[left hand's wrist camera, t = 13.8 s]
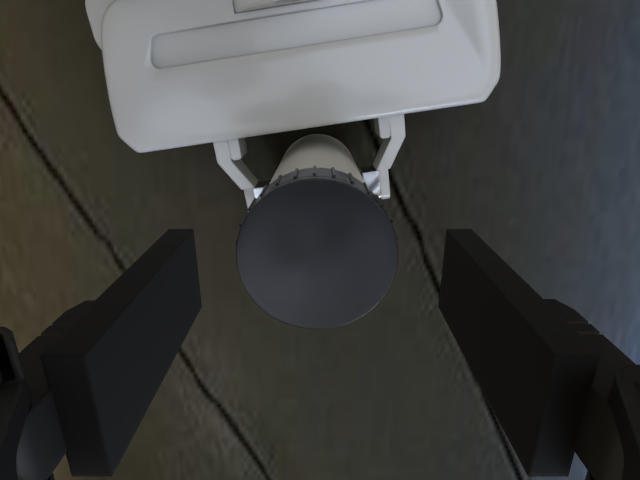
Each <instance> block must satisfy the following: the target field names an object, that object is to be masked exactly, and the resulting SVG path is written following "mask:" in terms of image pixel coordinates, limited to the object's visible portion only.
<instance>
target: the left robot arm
mask: <svg viewBox="0 0 640 480" xmlns="http://www.w3.org/2000/svg"><path fill="white" fill-rule="evenodd" d="M201 307H202V305H201V296H200V287H199V277H198V268H197V259H196V250H195V240H194V231H193V229H169V230H168V231H167V232H166V233H165V234H163V235H162V236H161V237H160V238H159V239H158V240H157V241H156V242H155V243H154V244H153V245H152V246H151V247H150V248H149V249H148V250H147V251H146V252H145V253H144V254H143V255H142V256H141V257H140V258H139V259H138V260H137V261H136V262H135V263H134V264H133V265H131V266H130V267H129V268H128V269H127V270H126V271H125V272H124V273H123V274H122V275H121V276H120V277H119V278H118V279H117V280H116V281H115V282H114V283H113V284H112V285H111V286H110V287H109V288H108V289H107V290H106V291H105V292H104V293H103V294H102V295H101V296H100V297H98V298H97V299H96V300H95V301H84V302H83V303H81V304H79V305H77V306H75V307H73V308H71V309H69V310H67V311H66V312H65V313H63V314H62V315H61V316H60V317H59V318H58V319H57V320H56V321H55V322H53V323H52V324H53V325H52V326H49V327H48V328H47V329H46V330H45V331H43V332H42V333H41V336H38V337H37V338H36V339H34V340H33V341H32V342H31V343H30V344H29V345H28V346H27V347H26V348H24V349H23V350H22V351H21V352H20V353H18V349H17V346H16V342H15V339H14V335H13V332H12V331H11V330H9V329H7V328H6V327H0V480H55V479H54V475H53V471H54V469H55V468H56V466H57V465H58V463H59V462H60V461H61V459H62V458H63V456H64V455H65V453H66V456H67V460H68V463H69V467H70V471H71V475H72V476H112V475H113V473H114V471H115V469H116V468H117V466H118V464H119V462H120V460H121V458H122V456H123V454H124V452H125V450H126V449H127V447H128V445H129V443H130V441H131V439H132V437H133V435H134V433H135V432H136V430H137V428H138V426H139V424H140V422H141V420H142V418H143V416H144V415H145V413H146V411H147V409H148V407H149V405H150V403H151V401H152V399H153V398H154V396H155V394H156V392H157V390H158V388H159V386H160V384H161V382H162V381H163V379H164V377H165V375H166V373H167V371H168V369H169V367H170V365H171V364H172V362H173V360H174V358H175V356H176V354H177V352H178V350H179V348H180V347H181V345H182V343H183V341H184V339H185V337H186V335H187V333H188V331H189V330H190V328H191V326H192V324H193V322H194V320H195V318H196V316H197V314H198V313H199V311H200V309H201ZM438 307H439V309H440V311H441V313H442V314H443V316H444V318H445V320H446V322H447V324H448V326H449V328H450V330H451V331H452V333H453V335H454V337H455V339H456V341H457V343H458V345H459V347H460V348H461V350H462V352H463V354H464V356H465V358H466V360H467V362H468V364H469V365H470V367H471V369H472V371H473V373H474V375H475V377H476V379H477V381H478V382H479V384H480V386H481V388H482V390H483V392H484V394H485V396H486V398H487V399H488V401H489V403H490V405H491V407H492V409H493V411H494V413H495V415H496V416H497V418H498V420H499V422H500V424H501V426H502V428H503V430H504V432H505V433H506V435H507V437H508V439H509V441H510V443H511V445H512V447H513V449H514V450H515V452H516V454H517V456H518V458H519V460H520V462H521V464H522V466H523V468H524V469H525V471H526V473H527V475H528V476H568V475H569V471H570V467H571V463H572V460H573V456H574V452H576V454H577V455H578V457H579V458H580V460H581V461H582V463H583V464H584V465H585V467H586V468H587V470H588V472H587V475H586V479H585V480H640V365H636V364H635V363H634V362H633V361H631V360H630V359H629V358H628V357H627V356H626V355H625V354H624V353H622V352H621V351H620V350H619V349H618V348H617V347H616V346H615V345H613V344H612V343H611V342H610V341H609V340H608V339H607V338H606V337H604V336H603V335H600V334H599V331H598V330H597V329H596V328H594V327H593V326H592V325H591V324H588V321H587V320H585V319H584V318H583V317H582V316H581V315H580V314H579V313H578V312H576V311H575V310H574V309H572V308H570V307H568V306H566V305H565V304H563V303H561V302H559V301H557V300H555V299H543V298H542V297H540V296H539V295H538V294H537V293H536V292H535V291H534V290H533V289H532V288H531V287H530V286H529V285H528V284H527V283H526V282H525V281H524V280H523V279H522V278H521V277H520V276H519V275H518V274H517V273H516V272H515V271H514V270H513V269H512V268H511V267H510V266H509V265H507V264H506V263H505V262H504V261H503V260H502V259H501V258H500V257H499V256H498V255H497V254H496V253H495V252H494V251H493V250H492V249H491V248H490V247H489V246H488V245H487V244H486V243H485V242H484V241H483V240H482V239H481V238H480V237H479V236H478V235H477V234H475V233H474V232H473V231H472V230H471V229H447V231H446V240H445V250H444V259H443V268H442V277H441V287H440V296H439V305H438Z"/></svg>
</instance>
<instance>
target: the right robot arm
mask: <svg viewBox="0 0 640 480" xmlns="http://www.w3.org/2000/svg"><path fill="white" fill-rule="evenodd" d="M85 6H86V11H87V15H88V18H89V22H90V25H91V29H92V32H93V36H94V38H95V41H96V43H97V44H98V46H99V48H100V49H101V51H102V56H103V64H104V71H105V79H106V85H107V90H108V96H109V101H110V106H111V111H112V115H113V119H114V124H115V127H116V131H117V133H118V135H119V137H120V138H121V139H122V140H123V141H124V142H125V143H126V144H127V145H129V146H130V147H131V148H132V149H133V150H135V151H136V152H138V153H144V152H151V151H158V150H164V149H171V148H178V147H185V146H191V145H198V144H205V143H211V142H213V145H214V149H215V154H216V158H217V163H218V164H219V165H220V166H221V167H222V169H223V170H224V171H225V172H226V173H227V174H228V175H229V176H230V178H231V179H232V180H233V181H234V182H235V183H236V184H237V185H238V187H239V188H240V189H241V190H244V194H245V198H246V203H247V208H249V206H250V204H251V203H252V201H253V199H254V198H257V197H258V196H259V195H260V193H261V192H262V190H263V188H264V186H265V185H267V186H268V185H269V184H270V182H271V180H270V181H261V182H259V181H258V180H257V178H256V177H255V176H254V175H253V173H252V172H251V171H250V170H249V169H248V167H247V166H246V165H245V164H244V162H243V161H242V160H241V158H242V157H243V156H244V155H245V154H246V153H247V147H246V142H245V137H252V136H259V135H265V134H272V133H279V132H286V131H292V130H299V129H306V128H312V127H319V126H326V125H333V124H339V123H346V122H353V121H360V120H366V119H373V118H374V125H375V133H376V134H377V135H378V136H380V137H381V138H382V139H383V141H382V144H381V146H380V148H379V151H378V153H377V155H376V158H375V160H374V163H373V165H372V166H366V167H360V174H361V176H362V178H363V180H364V182H366V183H367V185H368V187H369V189H370V190H371V191H372V192H373V193H374V194H375V195H376V194H377V195H378V196H379V198H380V200H381V199H388V198H390V187H389V175H388V169H390V168H391V166H392V164H393V161H394V159H395V157H396V155H397V153H398V151H399V149H400V147H401V144H402V142H403V140H404V138H405V121H404V114H407V113H413V112H420V111H427V110H434V109H440V108H447V107H454V106H461V105H467V104H474V103H480V102H483V101H485V100H486V99H487V98H488V96H489V95H490V94H491V92H492V91H493V89H494V87H495V86H496V84H497V83H498V81H499V78H500V68H501V53H500V33H499V21H498V11H497V2H496V0H85ZM248 212H249V211H248Z"/></svg>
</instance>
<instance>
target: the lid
mask: <svg viewBox="0 0 640 480" xmlns="http://www.w3.org/2000/svg"><path fill="white" fill-rule="evenodd" d="M383 206H384V205H383V203H382V201H381V200H380V198H379V196H378V195H377V194H376V195H375V194H374V193H373V192H372V191H371V190H370V189H369V187H368V185H367V183H366V182H364V183H362V182H361V181H360V180H358V179H356V178H354V177H353V176H352V174H351V173H348V174H346V173H344V172H341V171H338V170H335V168H334V167H332V168H331V169H328V168H316V166H313V168H305V169H300V170H299V169H298V168H296V169H295V171H293V172H290V173H288V174H285V175H283V176H282V175H279V176H278V178H277V179H276V180H275V181H273V182H272V183H271V184H269V185H268V186H267V185H265V186H264V188H263V190H262V192H261V193H260V195H259V196H258V197H257V198H254V199H253V201H252V203H251V204H250V206H249V208H248V211H249V212H248V213H246V215H245V217H244V218H243V220H242V222H241V224H240V227H241V228H240V231H239V234H238V239H237V241H236V263H237V268H238V273H239V276H240V279H241V281H242V283H243V285H244V287H245V289H246V291H247V292H248V294H249V295H250V297H251V298H252V299H253V300H254V302H255V303H256V304H257V305H258V306H259V307H260V308H262V309H263V310H264V311H265V312H266V313H268V314H269V315H271V316H272V317H274V318H276V319H278V320H280V321H282V322H284V323H287V324H289V325H292V326H296V327H300V328H308V329H327V328H334V327H338V326H342V325H345V324H348V323H350V322H352V321H354V320H356V319H359V318H360V317H362V316H363V315H365V314H366V313H368V312H369V311H370V310H371V309H373V308H374V307H375V306H376V305H377V304H378V303H379V302H380V301H381V299H382V298H383V297H384V295H385V294H386V292H387V291H388V289H389V287H390V285H391V284H392V281H393V279H394V276H395V273H396V268H397V264H398V243H397V240H398V238H397V236H396V234H395V231H394V229H393V226H392V224H391V223H392V222H393V221H392V219H391V217H390V215H389V213H388V212H387V210H386V209H383Z"/></svg>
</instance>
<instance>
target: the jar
mask: <svg viewBox="0 0 640 480" xmlns="http://www.w3.org/2000/svg"><path fill="white" fill-rule="evenodd" d="M313 166H316V168H328V169H331V168H332V167H334V168H335V170H338V171H341V172H344V173H346V174H348V173H351V174H352V176H353V177H354V178H356V179H358V180H360V181H361V182H362V183H364V180H363V178H362V176H361V174H360V172H359V170H358V168H357V166H356V164H355V162H354V160H353V157H352V155H351V154H350V152H349V150H348V149H347V148H346V146H345V145H344V144H343V143H341V142H340V141H339V140H337V139H335V138H333V137H331V136H328V135H324V134H312V135H307V136H304V137H302V138H300V139H298V140H297V141H295V142H294V143H293V144H292V145H291V146H290V147H289V148H288V149H287V151H286V152H285V154H284V156H283V158H282V160H281V162H280V164H279V166H278V168H277V170H276V172H275V174H274V176H273V178H272V180H271V182H270V184H271V183H272V182H273V181H275V180H276V179H277V178H278V176H279V175H282V176H283V175H285V174H288V173H290V172H293V171H295V169H296V168H298V169H299V170H300V169H305V168H313Z"/></svg>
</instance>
